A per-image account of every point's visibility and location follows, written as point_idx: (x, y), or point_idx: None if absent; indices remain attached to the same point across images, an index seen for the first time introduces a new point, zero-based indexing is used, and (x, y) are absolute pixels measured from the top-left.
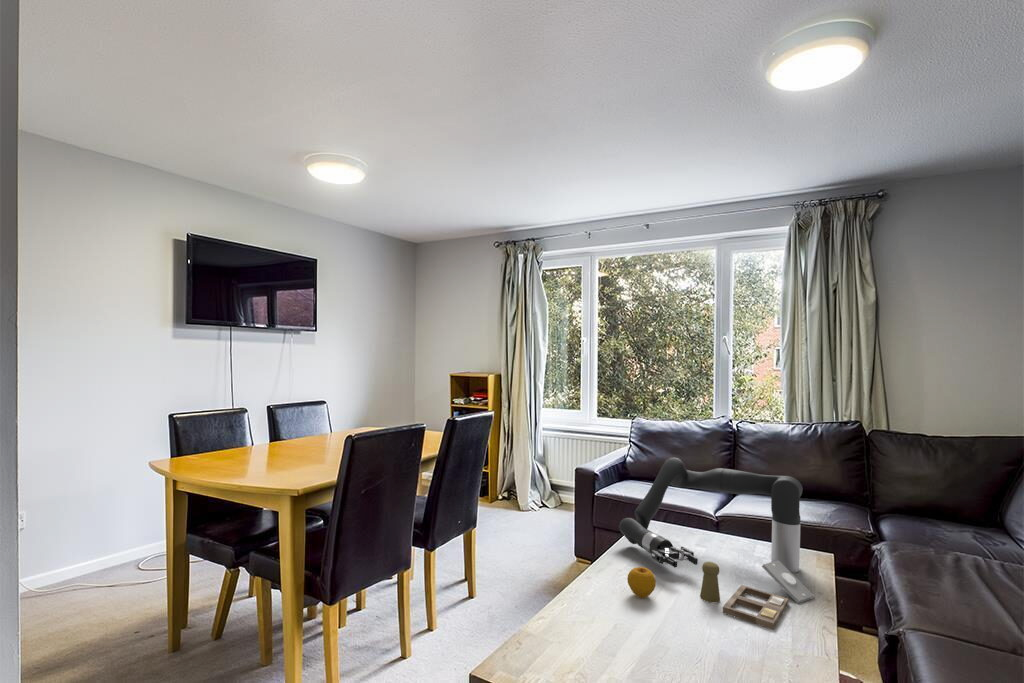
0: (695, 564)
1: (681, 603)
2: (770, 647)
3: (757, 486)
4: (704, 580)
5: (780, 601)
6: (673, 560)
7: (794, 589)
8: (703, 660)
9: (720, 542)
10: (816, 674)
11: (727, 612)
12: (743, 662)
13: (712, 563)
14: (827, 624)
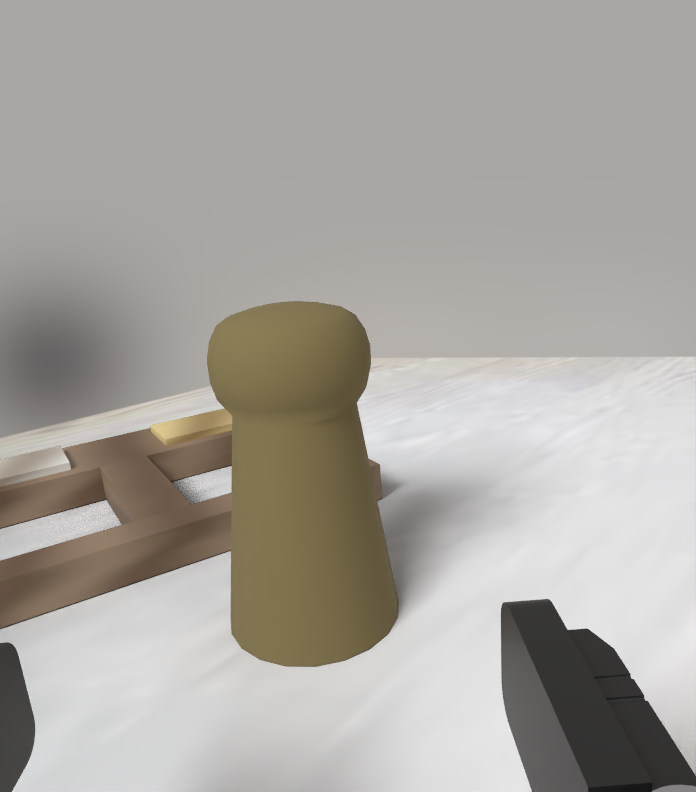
0: (29, 743)
1: (624, 584)
2: (380, 393)
3: None
4: (367, 455)
5: (8, 460)
6: (569, 636)
7: None
8: (667, 374)
9: None
10: None
11: None
12: (530, 371)
13: (269, 305)
14: (12, 436)
